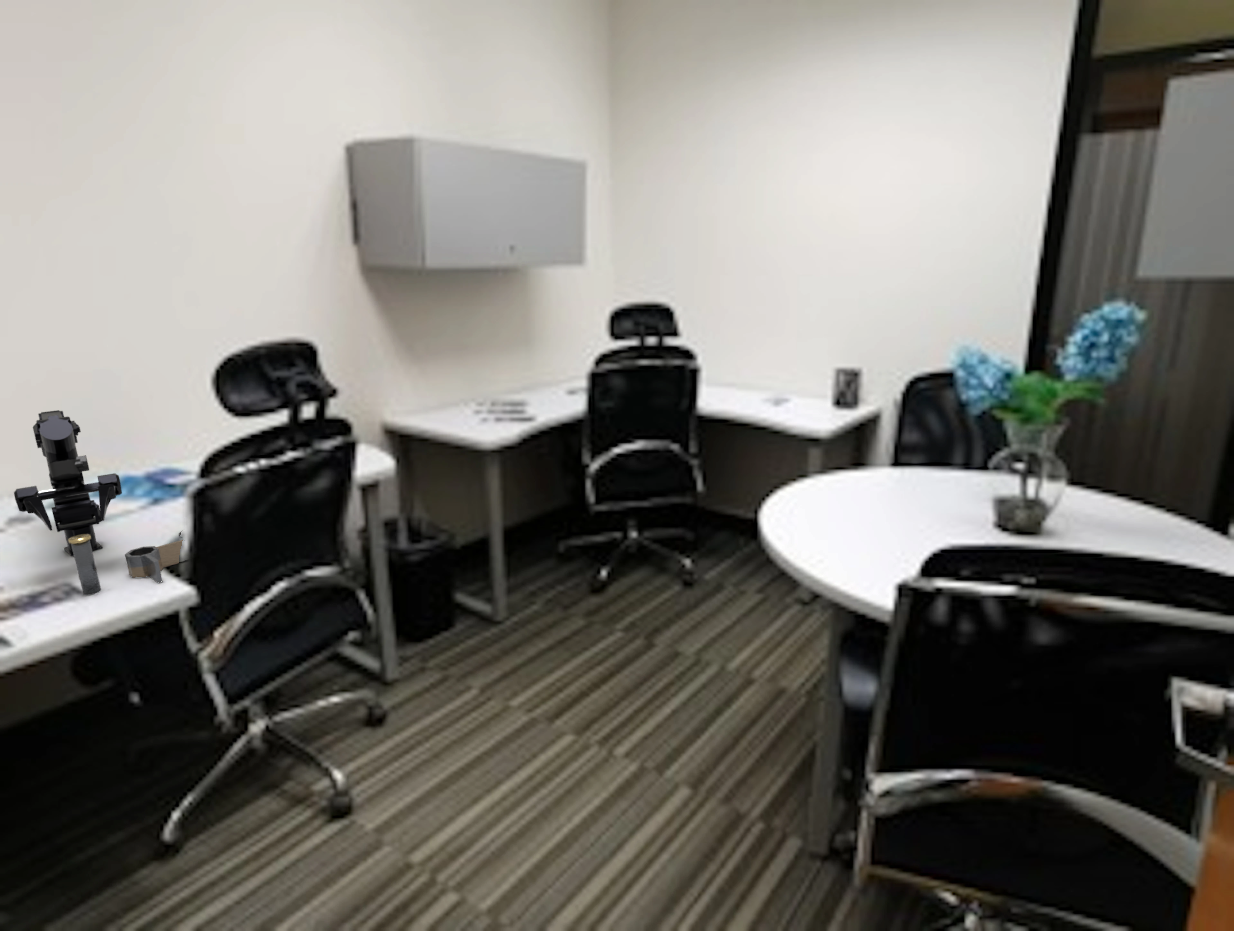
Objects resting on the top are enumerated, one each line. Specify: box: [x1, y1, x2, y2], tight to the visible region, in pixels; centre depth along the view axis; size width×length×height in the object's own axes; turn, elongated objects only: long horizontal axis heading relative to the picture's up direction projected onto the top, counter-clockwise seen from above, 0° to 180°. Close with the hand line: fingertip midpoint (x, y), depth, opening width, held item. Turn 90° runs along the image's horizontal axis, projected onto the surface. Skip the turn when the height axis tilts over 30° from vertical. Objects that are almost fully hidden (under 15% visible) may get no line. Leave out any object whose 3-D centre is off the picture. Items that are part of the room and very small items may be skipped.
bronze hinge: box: [124, 539, 184, 583], centre depth 165 cm, size 12×12×5 cm
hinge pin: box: [68, 534, 102, 596], centre depth 155 cm, size 4×4×12 cm
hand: (77, 524), depth 159 cm, fingers open, 9 cm apart
